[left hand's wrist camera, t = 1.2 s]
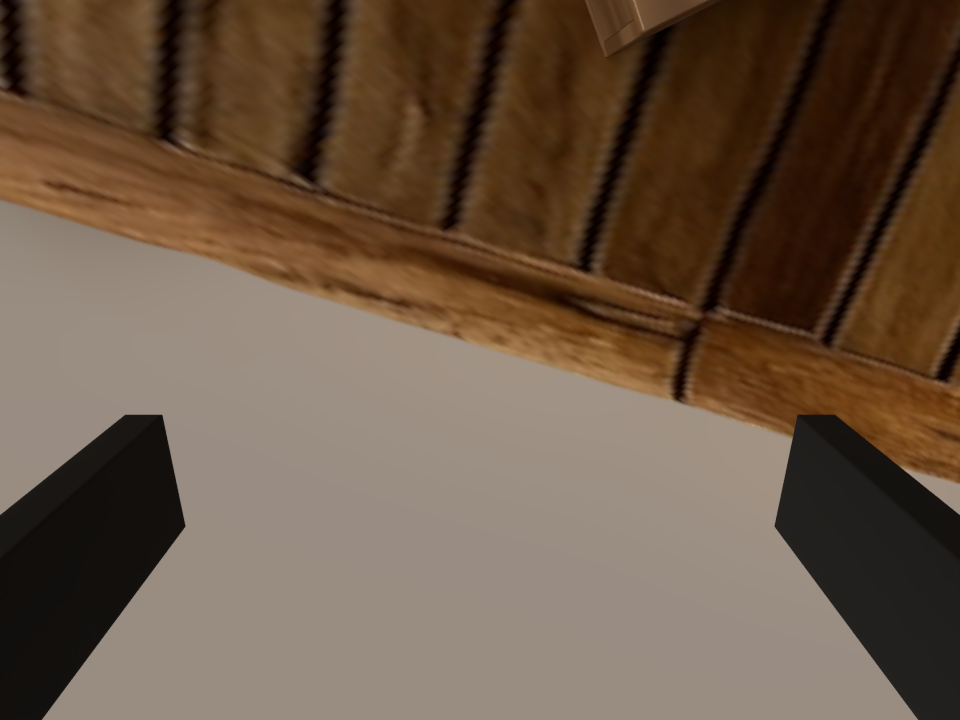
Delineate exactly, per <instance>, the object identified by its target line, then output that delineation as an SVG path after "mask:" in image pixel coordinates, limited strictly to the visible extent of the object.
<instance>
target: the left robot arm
mask: <svg viewBox="0 0 960 720" xmlns="http://www.w3.org/2000/svg"><path fill="white" fill-rule="evenodd" d="M184 528H185V522H184V517H183V512H182V507H181V502H180V498H179V493H178V488H177V483H176V478H175V474H174V469H173V464H172V459H171V454H170V449H169V445H168V440H167V435H166V430H165V425H164V421H163V416H162V415H124V416H123V417H122V418H121V419H119V420H118V421H117V422H116V423H114V424H113V425H112V426H111V427H109V428H108V429H107V430H106V431H104V432H103V433H102V434H101V435H99V436H98V437H97V438H96V439H94V440H93V441H92V442H91V443H89V444H88V445H87V446H86V447H85V448H83V449H82V450H81V451H80V452H78V453H77V454H76V455H75V456H73V457H72V458H71V459H70V460H68V461H67V462H66V463H65V464H63V465H62V466H61V467H60V468H58V469H57V470H56V471H55V472H53V473H52V474H51V475H50V476H48V477H47V478H46V479H45V480H43V481H42V482H41V483H40V484H38V485H37V486H36V487H35V488H33V489H32V490H31V491H30V492H28V493H27V494H26V495H25V496H23V497H22V498H21V499H20V500H18V501H17V502H16V503H15V504H13V505H12V506H11V507H10V508H8V509H7V510H6V511H5V512H3V513H2V514H1V515H0V720H42V719H43V717H44V716H45V715H46V713H47V712H48V711H49V709H50V708H51V707H52V705H53V704H54V703H55V701H56V700H57V699H58V697H59V696H60V695H61V693H62V692H63V691H64V689H65V688H66V686H67V685H68V684H69V682H70V681H71V680H72V678H73V677H74V676H75V674H76V673H77V672H78V670H79V669H80V668H81V666H82V665H83V664H84V662H85V661H86V660H87V658H88V657H89V656H90V654H91V653H92V651H93V650H94V649H95V647H96V646H97V645H98V643H99V642H100V641H101V639H102V638H103V637H104V635H105V634H106V633H107V631H108V630H109V629H110V627H111V626H112V625H113V623H114V622H115V621H116V619H117V618H118V617H119V615H120V614H121V612H122V611H123V610H124V608H125V607H126V606H127V604H128V603H129V602H130V600H131V599H132V598H133V596H134V595H135V594H136V592H137V591H138V590H139V588H140V587H141V586H142V584H143V583H144V582H145V580H146V579H147V578H148V576H149V575H150V574H151V572H152V571H153V569H154V568H155V567H156V565H157V564H158V563H159V561H160V560H161V559H162V557H163V556H164V555H165V553H166V552H167V551H168V549H169V548H170V547H171V545H172V544H173V543H174V541H175V540H176V539H177V537H178V536H179V534H180V533H181V532H182V530H183V529H184ZM775 528H776V529H777V530H778V532H779V533H780V534H781V536H782V537H783V539H784V540H785V541H786V542H787V544H788V545H789V547H790V548H791V549H792V551H793V552H794V553H795V555H796V556H797V557H798V559H799V560H800V561H801V563H802V564H803V565H804V567H805V568H806V569H807V571H808V572H809V574H810V575H811V576H812V578H813V579H814V580H815V582H816V583H817V584H818V586H819V587H820V588H821V590H822V591H823V592H824V594H825V595H826V596H827V598H828V599H829V600H830V602H831V603H832V604H833V606H834V607H835V608H836V610H837V611H838V613H839V614H840V615H841V616H842V618H843V619H844V621H845V622H846V623H847V625H848V626H849V627H850V629H851V630H852V631H853V633H854V634H855V635H856V637H857V638H858V639H859V641H860V642H861V643H862V645H863V646H864V648H865V649H866V650H867V652H868V653H869V654H870V656H871V657H872V658H873V660H874V661H875V662H876V664H877V665H878V666H879V668H880V669H881V670H882V672H883V673H884V674H885V676H886V677H887V678H888V680H889V681H890V682H891V684H892V685H893V687H894V688H895V689H896V691H897V692H898V693H899V695H900V696H901V697H902V698H903V700H904V701H905V703H906V704H907V705H908V707H909V708H910V709H911V711H912V712H913V713H914V715H915V716H916V717H917V719H918V720H960V515H959V514H958V513H956V512H955V511H954V510H953V509H952V508H950V507H949V506H948V505H947V504H945V503H944V502H943V501H942V500H940V499H939V498H938V497H937V496H935V495H934V494H933V493H932V492H930V491H929V490H928V489H927V488H925V487H924V486H923V485H922V484H920V483H919V482H918V481H917V480H915V479H914V478H913V477H912V476H910V475H909V474H908V473H907V472H905V471H904V470H903V469H902V468H900V467H899V466H898V465H897V464H895V463H894V462H893V461H892V460H890V459H889V458H888V457H887V456H885V455H884V454H883V453H882V452H880V451H879V450H878V449H877V448H876V447H874V446H873V445H872V444H871V443H869V442H868V441H867V440H866V439H864V438H863V437H862V436H861V435H859V434H858V433H857V432H856V431H854V430H853V429H852V428H851V427H849V426H848V425H847V424H846V423H844V422H843V421H842V420H841V419H839V418H838V417H837V416H836V415H798V416H797V421H796V425H795V430H794V435H793V440H792V445H791V449H790V455H789V459H788V464H787V469H786V474H785V478H784V483H783V488H782V493H781V498H780V503H779V507H778V512H777V517H776V522H775Z"/></svg>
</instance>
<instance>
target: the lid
mask: <svg viewBox="0 0 960 720" xmlns="http://www.w3.org/2000/svg"><path fill="white" fill-rule="evenodd" d="M707 1H709V0H628V3H629V6H630V9H631V13H632V16H633V19H634V22H635V25H636V28H637V31H638V33H639V34H643V33H645V32H647V31H649V30H651V29H653V28H655V27H657V26H659V25H661V24H663V23H665V22H667V21H669V20H671V19H673V18H675V17H677V16H679V15H681V14H683V13H685V12H687V11H689V10H691V9H693V8H695V7H697V6H699V5H701V4H703V3H705V2H707Z"/></svg>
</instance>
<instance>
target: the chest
mask: <svg viewBox="0 0 960 720" xmlns="http://www.w3.org/2000/svg"><path fill="white" fill-rule="evenodd" d="M720 1H722V0H709V1H707V2H705V3H703V4H701V5H699V6H697V7H695V8H693V9H691V10H689V11H687V12H685V13H683V14H681V15H679V16H677V17H675V18H673V19H671V20H669V21H667V22H665V23H663V24H661V25H659V26H657V27H655V28H653V29H651V30H649V31H647V32H645V33H643V34H639V33H638V31H637V28H636V25H635V22H634V19H633V16H632V13H631V9H630V6H629V3H628V0H585V2H586V5H587V8H588V10H589V13H590V16H591V19H592V22H593V25H594V28H595V30H596V33H597V36H598V39H599V42H600V45H601V48H602V50H603V53H604V56H605V58H607V57H609V56H611V55H613V54H615V53H617V52H619V51H621V50H623V49H625V48H627V47H629V46H631V45H633V44H635V43H637V42H639V41H641V40H643V39H645V38H647V37H649V36H651V35H653V34H655V33H657V32H659V31H661V30H663V29H665V28H667V27H669V26H671V25H673V24H675V23H677V22H679V21H681V20H683V19H685V18H687V17H689V16H691V15H693V14H695V13H697V12H699V11H701V10H703V9H705V8H707V7H709V6H711V5H713V4H715V3H717V2H720Z"/></svg>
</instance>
